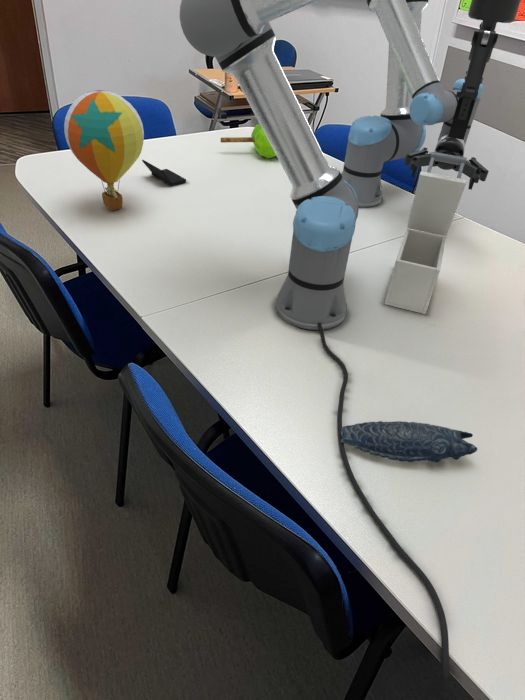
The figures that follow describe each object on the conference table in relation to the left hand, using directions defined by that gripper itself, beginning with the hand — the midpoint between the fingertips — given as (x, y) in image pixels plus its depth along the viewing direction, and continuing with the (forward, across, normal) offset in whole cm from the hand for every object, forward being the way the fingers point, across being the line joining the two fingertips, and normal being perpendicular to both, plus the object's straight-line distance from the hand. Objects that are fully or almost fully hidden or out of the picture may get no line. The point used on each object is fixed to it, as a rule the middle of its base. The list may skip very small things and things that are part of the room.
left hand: (457, 128), depth 97 cm
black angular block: (+37, -34, -82) cm, 96 cm away
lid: (+18, -6, 0) cm, 19 cm away
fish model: (+37, +48, +5) cm, 61 cm away
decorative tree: (+37, -74, -64) cm, 105 cm away
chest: (+37, -3, 0) cm, 37 cm away
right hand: (+16, -22, 0) cm, 27 cm away
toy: (+37, -8, -84) cm, 92 cm away
